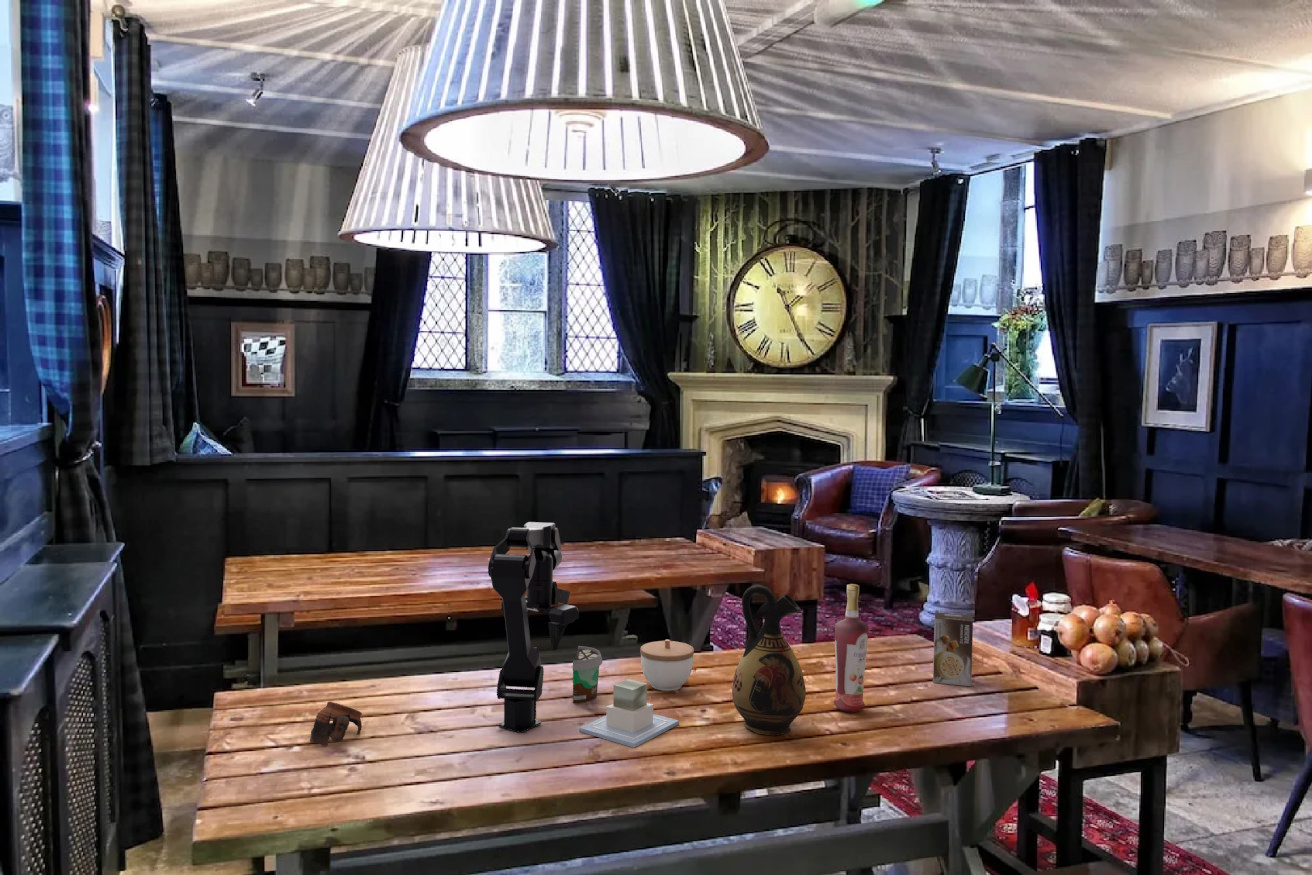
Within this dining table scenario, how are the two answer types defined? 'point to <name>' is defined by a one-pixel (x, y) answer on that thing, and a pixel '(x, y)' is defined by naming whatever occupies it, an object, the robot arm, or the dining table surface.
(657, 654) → the lidded bowl
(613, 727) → the blueprint board
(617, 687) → the sage block
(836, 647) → the liquor
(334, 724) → the brown bent piece
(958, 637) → the coffee box
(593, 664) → the food container
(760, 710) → the ceramic jug
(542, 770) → the dining table surface
